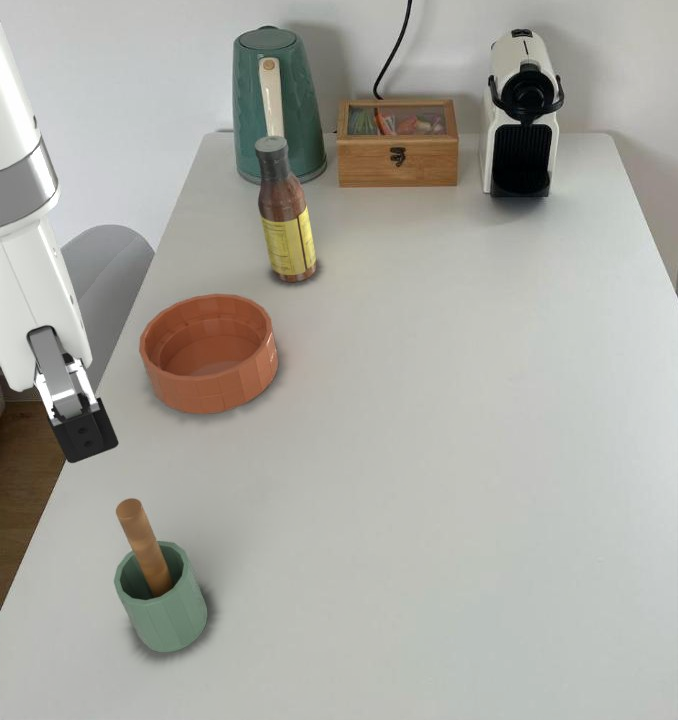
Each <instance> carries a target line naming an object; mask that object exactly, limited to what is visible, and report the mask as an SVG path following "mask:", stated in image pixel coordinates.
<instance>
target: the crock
mask: <svg viewBox="0 0 678 720" xmlns="http://www.w3.org/2000/svg"><path fill="white" fill-rule="evenodd" d="M157 542H158V545H159V547H160V549H161V552H162V554H163V557H164V559H165V562H166V564H167V566H168V569H169V571H170V574H171V576H172V579H173V581H174V583H175V586H174V588H173V589H171V590H170V591H168V592H167V593H165V594H164V595H162V596H161V597H157V598H154V597H153V594H152V592H151V590H150V588H149V586H148V583H147V581H146V579H145V577H144V575H143V572H142V570H141V568H140V566H139V564H138V561H137V559H136V557H135V555H134V553H133V550H130V552H128V553H127V554H126V555H125V556H124V557H123V559H122V560H121V561H120V562H119V564H118V565H117V567H116V570H115V574H114V578H113V585H114V588H115V591H116V594H117V596H118V598H119V601H120V602H121V604H122V606H123V608H124V610H125V612H126V615H127V617H128V618H129V621H131V624H132V626H133V628H134V630H135V632H136V634H137V636H138V638H139V640H141V641H142V644H144V645H145V646H146V647H147V648H149V649H150V650H152V651H155V652H159V653H172V652H177V651H180V650H182V649H184V648H186V647H188V646H190V645H191V644H192V643H194V642H195V641H196V640H197V639H198V638H199V637H200V635H201V634H202V633H203V631H204V630H205V628H206V624H207V622H208V607H207V603H206V602H205V599H204V596H203V594H202V591H201V588H200V585H199V582H198V581H197V578H196V575H195V572H194V570H193V567H192V564H191V562H190V559H189V556H188V554H187V552H186V550H185V549H184V548H183V547H181V546H180V545H178V544H177V543H175V542H172V541H165V540H157Z"/></svg>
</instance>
